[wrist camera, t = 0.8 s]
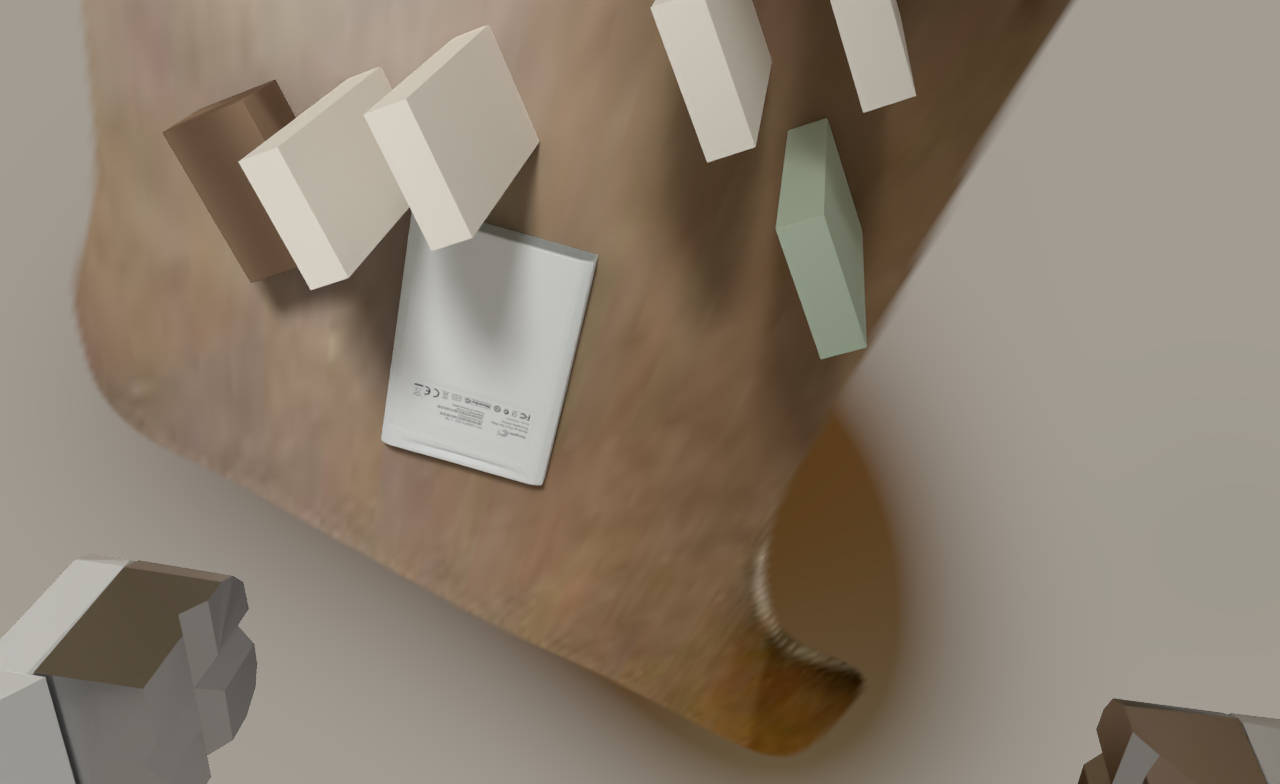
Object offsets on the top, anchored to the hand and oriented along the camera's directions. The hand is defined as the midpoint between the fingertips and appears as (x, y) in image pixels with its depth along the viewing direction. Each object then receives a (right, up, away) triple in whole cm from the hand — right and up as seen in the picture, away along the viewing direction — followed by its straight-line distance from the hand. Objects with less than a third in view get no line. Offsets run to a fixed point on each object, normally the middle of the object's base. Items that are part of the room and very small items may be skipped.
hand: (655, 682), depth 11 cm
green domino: (+7, +11, +35) cm, 37 cm away
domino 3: (+3, +17, +32) cm, 37 cm away
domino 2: (-6, +15, +35) cm, 39 cm away
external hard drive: (-7, +5, +42) cm, 43 cm away
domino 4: (+8, +19, +30) cm, 37 cm away
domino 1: (-11, +14, +37) cm, 40 cm away
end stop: (-16, +12, +38) cm, 43 cm away
